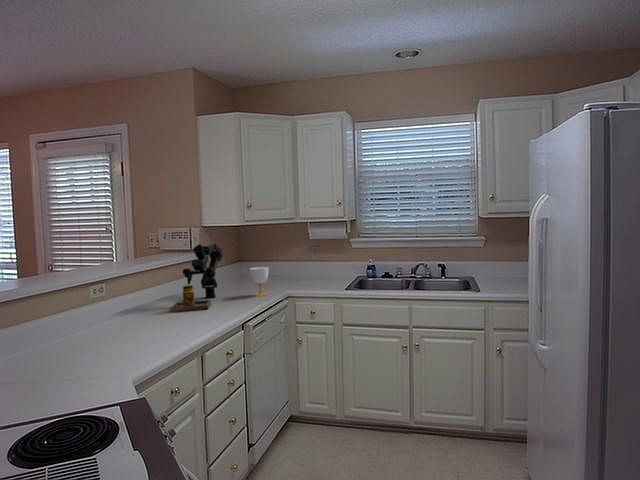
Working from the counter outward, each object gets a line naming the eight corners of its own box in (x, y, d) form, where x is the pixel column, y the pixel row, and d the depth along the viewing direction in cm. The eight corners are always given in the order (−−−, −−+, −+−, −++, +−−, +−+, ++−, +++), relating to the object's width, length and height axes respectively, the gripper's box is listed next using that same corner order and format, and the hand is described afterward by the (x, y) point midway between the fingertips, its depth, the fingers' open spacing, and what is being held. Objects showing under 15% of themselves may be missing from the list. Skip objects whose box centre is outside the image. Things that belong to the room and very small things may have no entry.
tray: (176, 306, 274) (176, 302, 274) (211, 303, 276) (210, 299, 276) (170, 312, 258) (170, 308, 258) (207, 309, 260) (207, 305, 260)
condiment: (191, 308, 262) (189, 287, 261) (178, 308, 264) (176, 287, 263) (198, 305, 269) (196, 284, 268) (185, 305, 271) (183, 285, 270)
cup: (273, 293, 300) (271, 266, 299) (263, 296, 290) (261, 269, 289) (257, 292, 305) (256, 266, 304) (247, 296, 295) (245, 269, 294)
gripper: (182, 255, 281) (175, 276, 271) (212, 254, 278) (206, 275, 268) (188, 266, 289) (182, 287, 279) (217, 265, 287) (212, 286, 276)
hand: (195, 284), depth 275 cm, fingers open, 9 cm apart
